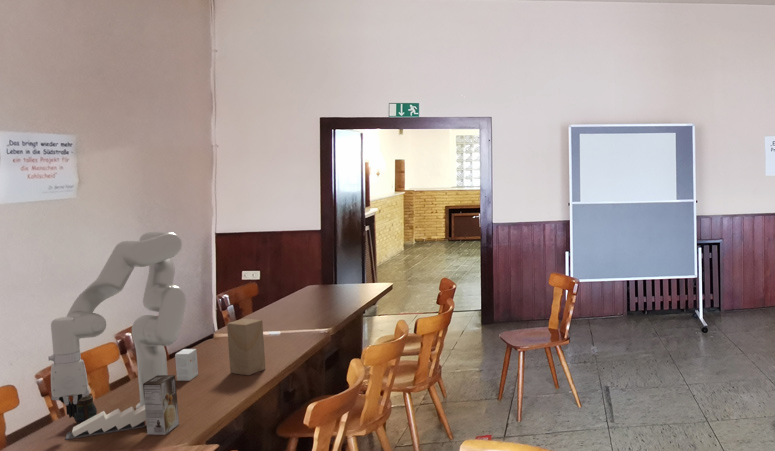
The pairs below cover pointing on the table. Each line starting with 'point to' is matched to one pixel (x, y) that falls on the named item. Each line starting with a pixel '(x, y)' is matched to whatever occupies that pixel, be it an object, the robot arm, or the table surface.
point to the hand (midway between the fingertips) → (72, 416)
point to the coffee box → (161, 404)
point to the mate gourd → (85, 409)
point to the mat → (100, 431)
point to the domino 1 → (89, 423)
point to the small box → (186, 364)
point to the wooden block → (246, 346)
